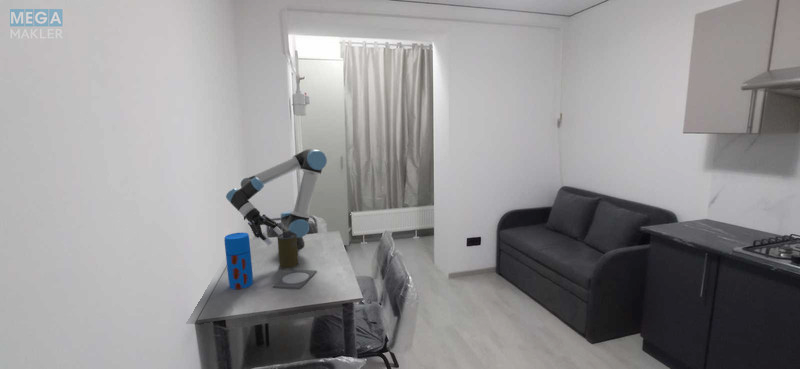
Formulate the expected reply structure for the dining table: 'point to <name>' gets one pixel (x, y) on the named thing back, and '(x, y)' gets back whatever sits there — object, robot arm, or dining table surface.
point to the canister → (288, 250)
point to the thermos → (238, 260)
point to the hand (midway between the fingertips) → (276, 239)
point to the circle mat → (295, 279)
